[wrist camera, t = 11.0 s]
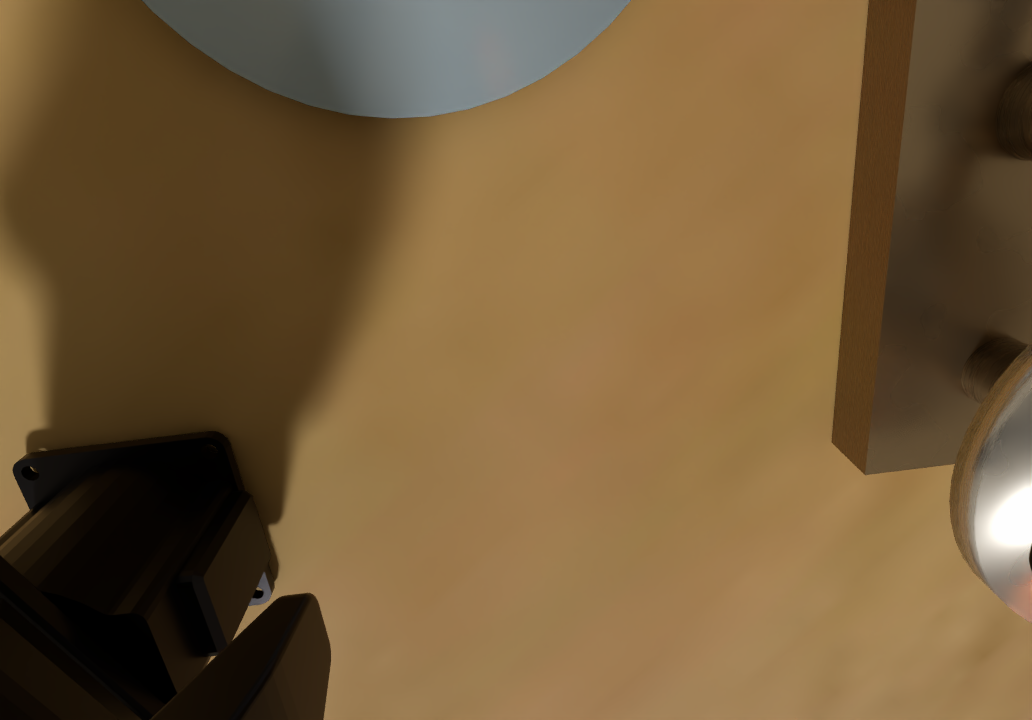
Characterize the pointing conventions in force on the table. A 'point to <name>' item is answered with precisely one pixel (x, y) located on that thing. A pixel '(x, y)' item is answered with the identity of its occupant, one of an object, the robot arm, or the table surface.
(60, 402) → the table surface
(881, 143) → the balance
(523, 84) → the dish
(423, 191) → the table surface
